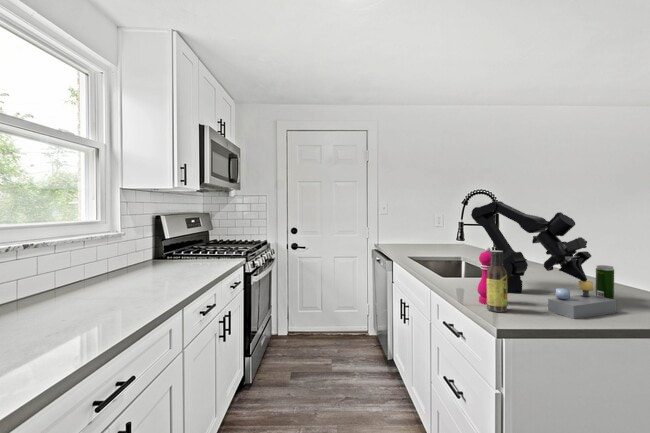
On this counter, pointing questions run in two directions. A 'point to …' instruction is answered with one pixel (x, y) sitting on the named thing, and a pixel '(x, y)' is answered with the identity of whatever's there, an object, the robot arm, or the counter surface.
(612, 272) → the beer can
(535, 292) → the counter surface
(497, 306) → the sauce bottle
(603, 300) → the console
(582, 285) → the amber button
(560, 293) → the blue button
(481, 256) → the pepper mill
